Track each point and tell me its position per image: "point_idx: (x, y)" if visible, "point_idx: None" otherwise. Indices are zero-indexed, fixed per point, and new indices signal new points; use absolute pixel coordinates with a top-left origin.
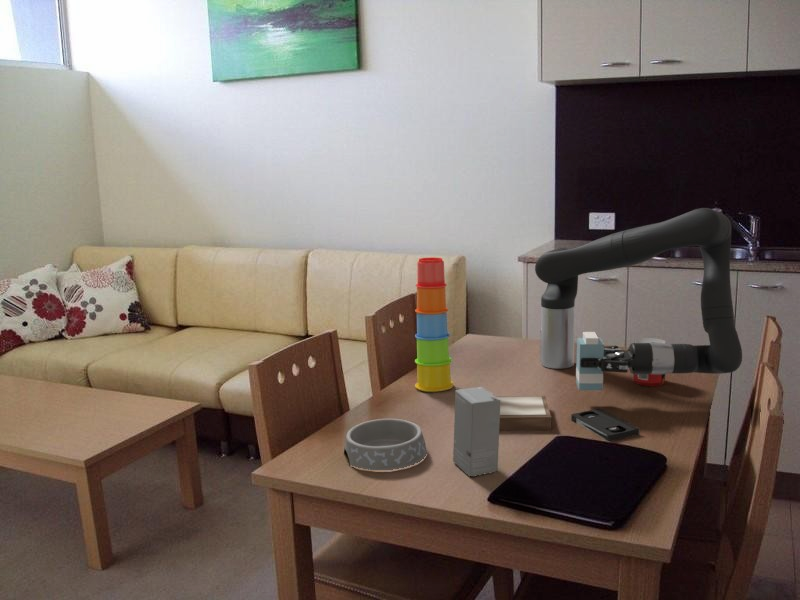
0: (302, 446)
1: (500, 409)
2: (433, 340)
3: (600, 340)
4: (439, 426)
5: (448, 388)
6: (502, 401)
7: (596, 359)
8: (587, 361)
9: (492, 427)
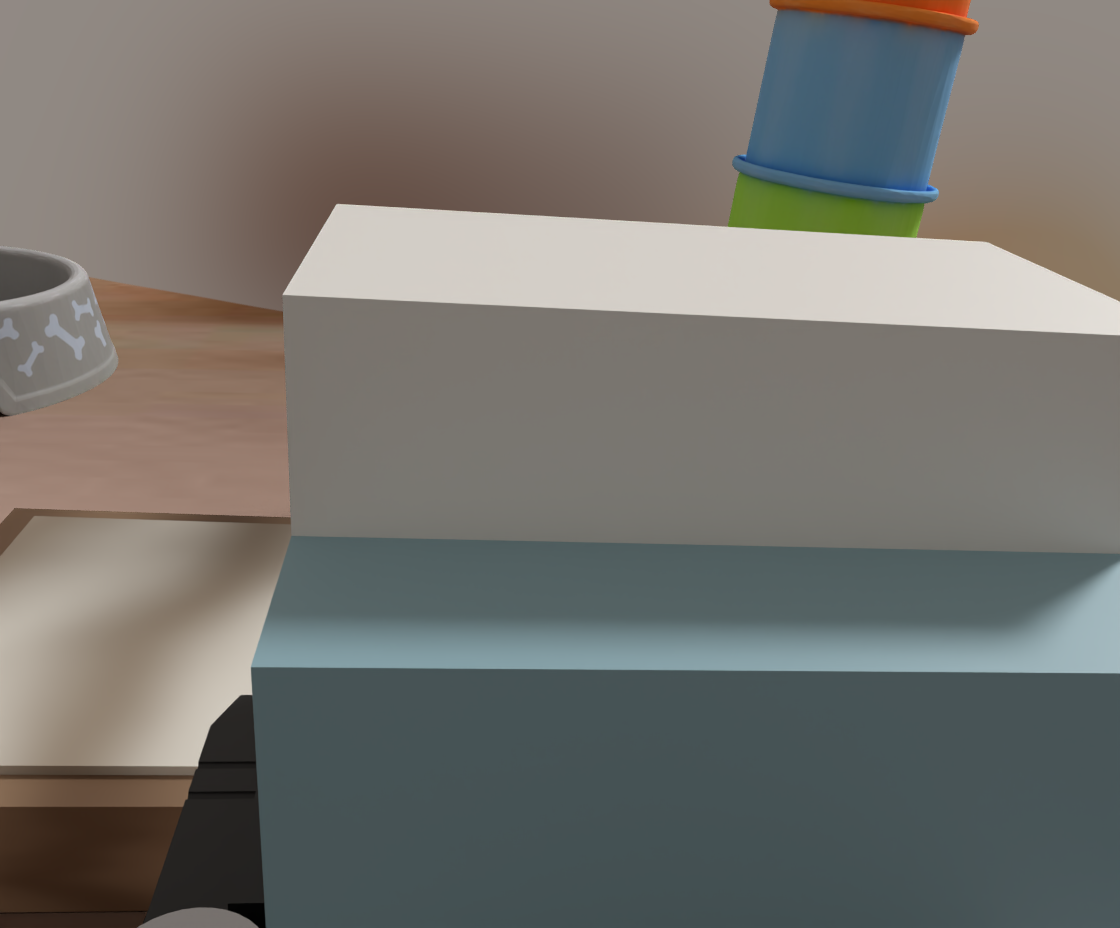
0: (119, 286)
1: (129, 547)
2: (745, 176)
3: (845, 636)
4: (180, 461)
5: None
6: None
7: (228, 914)
8: (201, 753)
9: None
